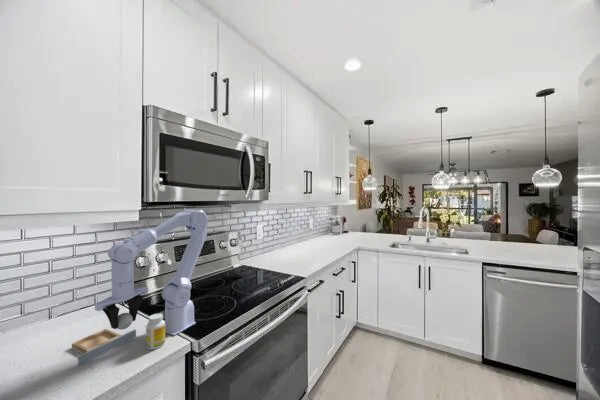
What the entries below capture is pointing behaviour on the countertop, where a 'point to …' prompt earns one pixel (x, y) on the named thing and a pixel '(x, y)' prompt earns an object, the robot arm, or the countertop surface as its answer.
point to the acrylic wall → (106, 347)
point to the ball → (124, 320)
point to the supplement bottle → (155, 331)
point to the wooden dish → (94, 340)
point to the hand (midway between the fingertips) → (123, 323)
